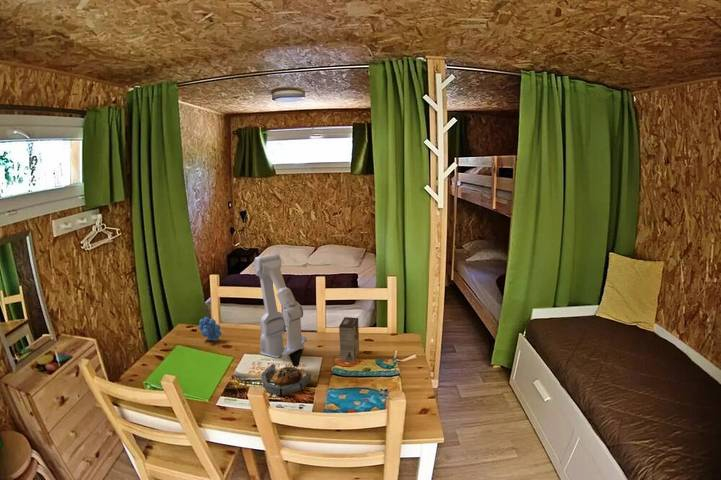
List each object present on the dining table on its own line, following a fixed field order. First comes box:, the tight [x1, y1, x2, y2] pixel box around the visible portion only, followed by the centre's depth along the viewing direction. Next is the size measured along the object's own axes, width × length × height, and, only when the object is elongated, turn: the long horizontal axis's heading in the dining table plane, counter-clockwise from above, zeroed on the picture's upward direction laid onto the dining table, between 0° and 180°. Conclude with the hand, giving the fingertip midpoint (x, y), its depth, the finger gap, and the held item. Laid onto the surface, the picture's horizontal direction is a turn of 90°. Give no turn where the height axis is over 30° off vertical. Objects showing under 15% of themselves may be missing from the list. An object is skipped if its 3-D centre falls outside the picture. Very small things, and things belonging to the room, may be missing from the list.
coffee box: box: [338, 316, 360, 363], centre depth 148 cm, size 9×6×16 cm
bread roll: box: [272, 365, 302, 387], centre depth 134 cm, size 11×11×5 cm
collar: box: [260, 364, 312, 396], centre depth 131 cm, size 18×12×2 cm
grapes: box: [198, 316, 223, 342], centre depth 163 cm, size 12×7×12 cm, turn 77°
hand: (295, 365), depth 140 cm, fingers closed
